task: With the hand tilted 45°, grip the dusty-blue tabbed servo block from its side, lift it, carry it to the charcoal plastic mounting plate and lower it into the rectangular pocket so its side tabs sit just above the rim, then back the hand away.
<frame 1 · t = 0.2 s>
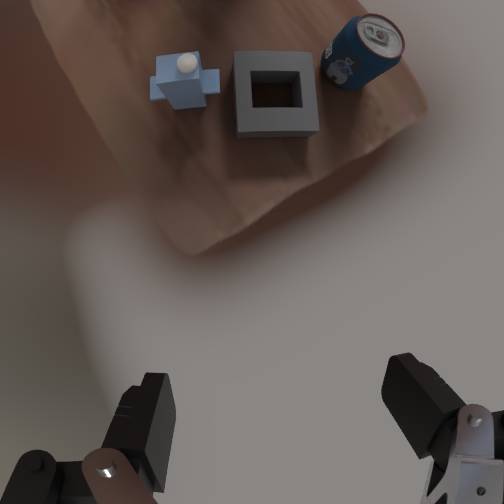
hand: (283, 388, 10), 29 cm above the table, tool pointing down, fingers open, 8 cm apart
soda can: (341, 69, 34), on the table
servo block: (190, 97, 33), on the table
mount plate: (270, 99, 34), on the table
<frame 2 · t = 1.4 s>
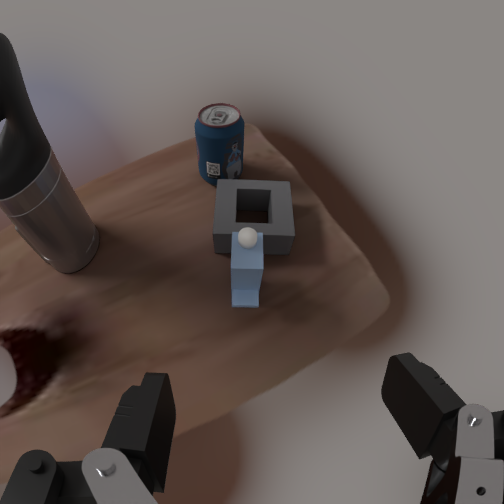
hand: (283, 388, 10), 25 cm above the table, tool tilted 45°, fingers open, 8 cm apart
soda can: (221, 174, 48), on the table
servo block: (244, 291, 38), on the table
mount plate: (252, 226, 43), on the table
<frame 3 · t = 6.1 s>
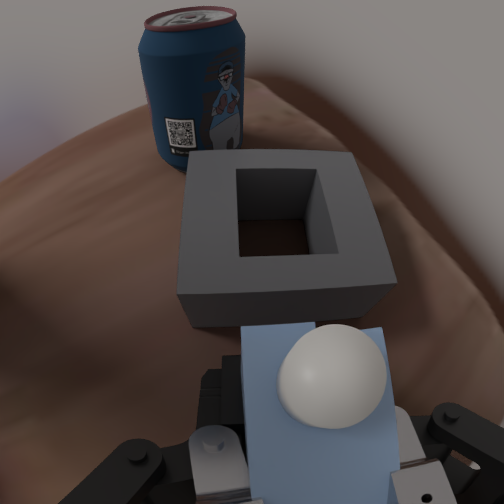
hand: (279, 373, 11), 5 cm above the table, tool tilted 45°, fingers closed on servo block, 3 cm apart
soda can: (201, 153, 24), on the table
servo block: (271, 421, 14), on the table, touching gripper
mount plate: (273, 255, 19), on the table
when the fingers open (6 cm above the table, at t = 11.7 s): servo block drops 1 cm, resting in mount plate.
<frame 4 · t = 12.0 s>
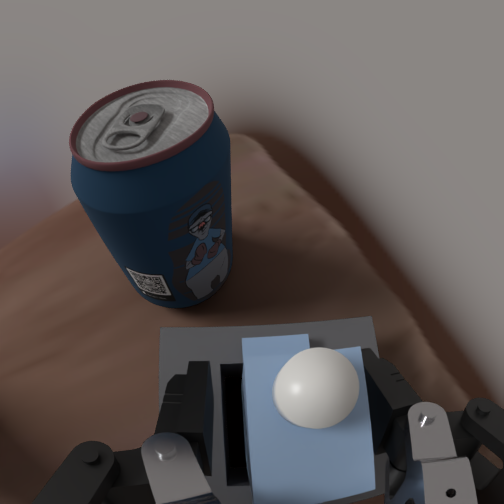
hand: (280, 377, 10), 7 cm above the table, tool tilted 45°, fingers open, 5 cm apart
soda can: (182, 268, 20), on the table
servo block: (269, 422, 15), resting in mount plate
mount plate: (268, 421, 15), on the table
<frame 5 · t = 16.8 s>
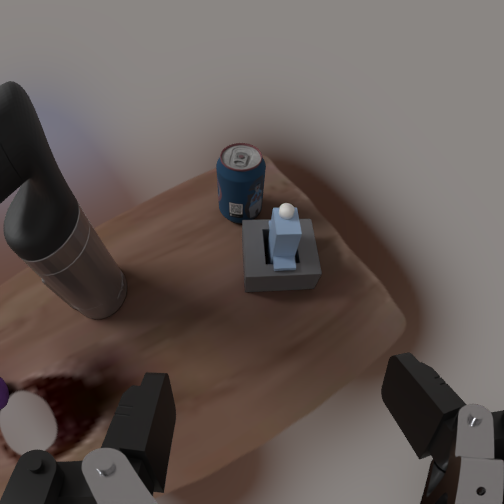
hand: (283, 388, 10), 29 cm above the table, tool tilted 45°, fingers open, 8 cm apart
soda can: (240, 210, 50), on the table
servo block: (277, 263, 45), resting in mount plate
mount plate: (276, 262, 45), on the table
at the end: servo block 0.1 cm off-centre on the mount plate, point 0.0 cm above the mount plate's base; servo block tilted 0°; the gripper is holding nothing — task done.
